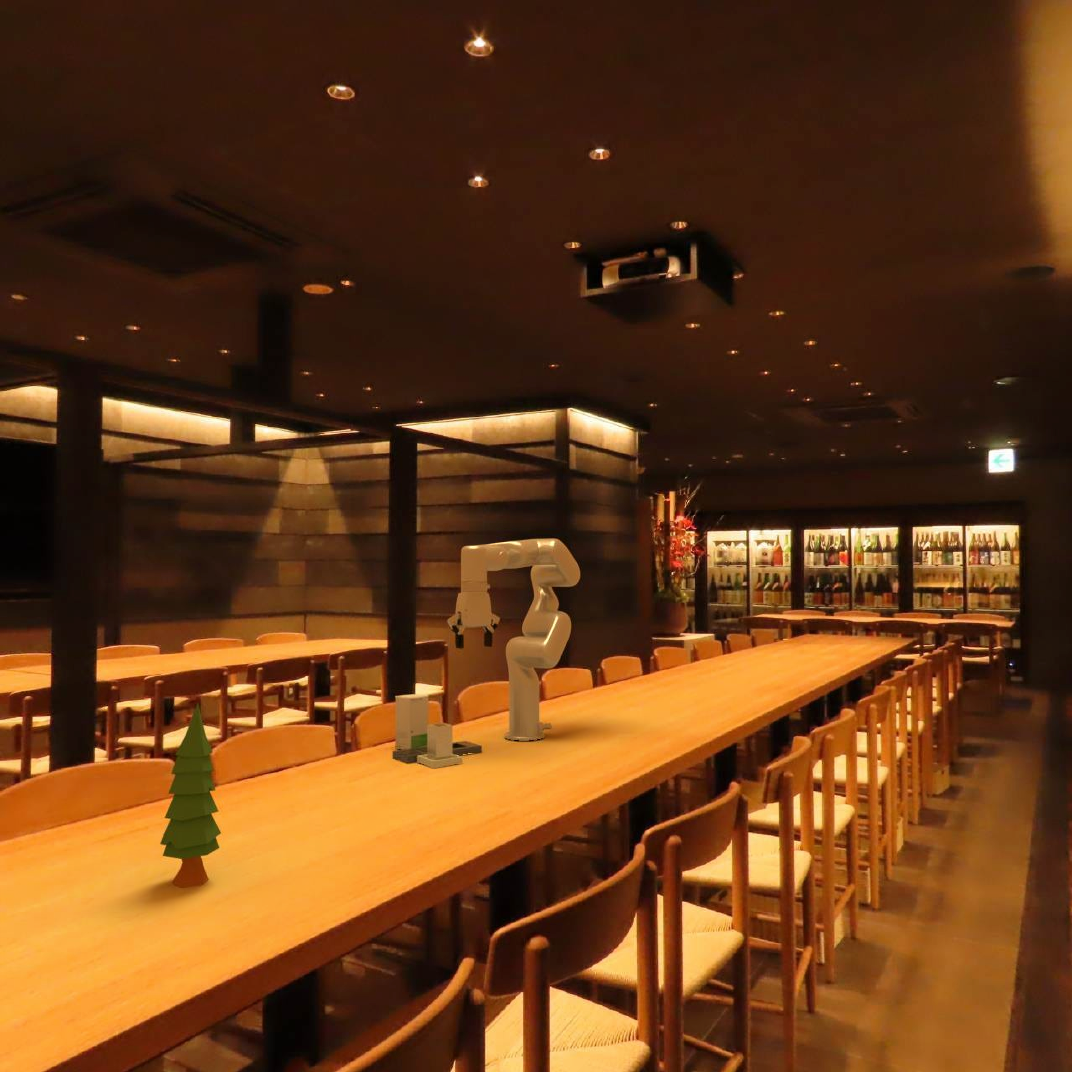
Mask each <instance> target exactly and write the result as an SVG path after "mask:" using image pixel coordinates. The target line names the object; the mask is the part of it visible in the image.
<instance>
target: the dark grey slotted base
mask: <svg viewBox="0 0 1072 1072" xmlns="http://www.w3.org/2000/svg"><path fill="white" fill-rule="evenodd" d="M480 752H482V753H483V745H480V744H477V743H473V742H470V741H467V740H463V741H457V742H456V741H454V742H452V754H454V755H463V754H468V753H476V754H481V753H480ZM425 754H427V746H424V747H417V748H410V749H402V750H398V749H395V750H392V759H394V758H396V759H395V760H397V759H398V760H397V761H399V760H400V761H399V762H402V761H403V762H402V763H406V764H415V763H417V756H418V755H425ZM463 756H464V755H463Z"/></svg>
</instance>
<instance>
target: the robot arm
mask: <svg viewBox="0 0 1072 1072" xmlns="http://www.w3.org/2000/svg"><path fill="white" fill-rule="evenodd" d="M460 552H461V553H460V585H461V586H460V592H458V593H457V599H456V605H455V614H453V615H452V616H451V617H449V618H448V619H447V621H446V622H447V624H448V626H449V629H450V630H451V631H452V632H453V634H454V639H455V648H456V649H461V650H463V649H464V646H465V645H464V643H465V641H464V639H465V638H464V636H465V635H464V634H463V632H464V631H465V629H466V628H468V629H469V628H483V629H484V631H485V632H484V633H483V634H484V635H483V641H484V642H483V645H484V647H488V648H489V647H490V648H491V647H492V646H493V634H494V632H495V630H496V629H497V627H498V625H499V623H500V620H501V617H500V616H498V615H496V614H494V613H492V605H491V597H490V593H489V592H488V590H489V589H490V588H491V585H490V583H488V572H491V571H492V572H497V571H501V570H504V569H519V568H525V567H532V568H531V570H530V579H531V583H532V589H533V595H534V596H533V600H532V603H531V605H530V607H529V609H528V611H527V613H526V616H525V617H524V620H523V622H522V627H521V629H522V630H521V631H522V633H523V636H516V637H513V638H511V639H510V640H509V641H508V642H507V644H506V645H505V646H506V647H505V658H506V661H507V669H508V732H505V733H504V734H503V736H504V737H505V738H507V739H506V740H508V739H511V740H510V741H514V740H519V741H518V742H530V741H529V740H534V741H538V740H537V739H540V740H542V739H541V738H543V737H544V738H545V733H544V732H543V731H545V730H552V728H553V725H552V723H550V722H546V723H543V722H541V721H540V679H539V676H538V674H537V672H536V670H535V669H552V668H554V667H556V666H557V665H558V663H559V661H560V660H561V656H562V655H563V652H564V650H565V648H566V645H567V642H568V641H569V639H570V635H571V631H572V622H571V617H570V616H569V615H568V613H566V612H564V611H560V610H558V609H559V605H560V603H559V600H558V597H557V595H556V594H555V592H554V590H553V587H556V588H557V587H560V588H561V587H563V588H564V587H565V588H569V587H574V586H576V585H577V584H578V582H579V581H580V579H581V569H580V567H579V564H578V562H577V561H576V559H575V558H574V556H573V555H572V553H571V551H570V550H569V549H568V547H567V546H566V545H565V544H564V543H563V542H562V541H561V540H560V539H558V538H530V539H523V540H522V539H521V540H510V541H504V542H495V543H488V544H478V545H477V544H475V545H466V546H465V545H464V546H463V547H462V548H461V551H460ZM504 737H503V738H504ZM505 738H504V739H505ZM544 738H543V739H544Z"/></svg>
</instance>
